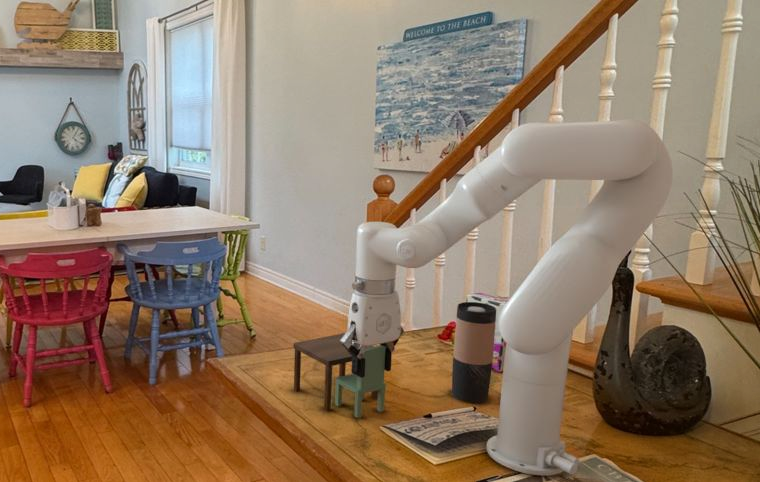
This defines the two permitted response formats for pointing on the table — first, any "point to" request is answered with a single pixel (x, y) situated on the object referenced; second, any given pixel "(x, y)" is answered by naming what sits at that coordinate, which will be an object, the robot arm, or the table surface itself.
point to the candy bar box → (498, 340)
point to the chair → (365, 380)
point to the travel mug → (473, 351)
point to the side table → (324, 361)
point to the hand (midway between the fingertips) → (371, 371)
